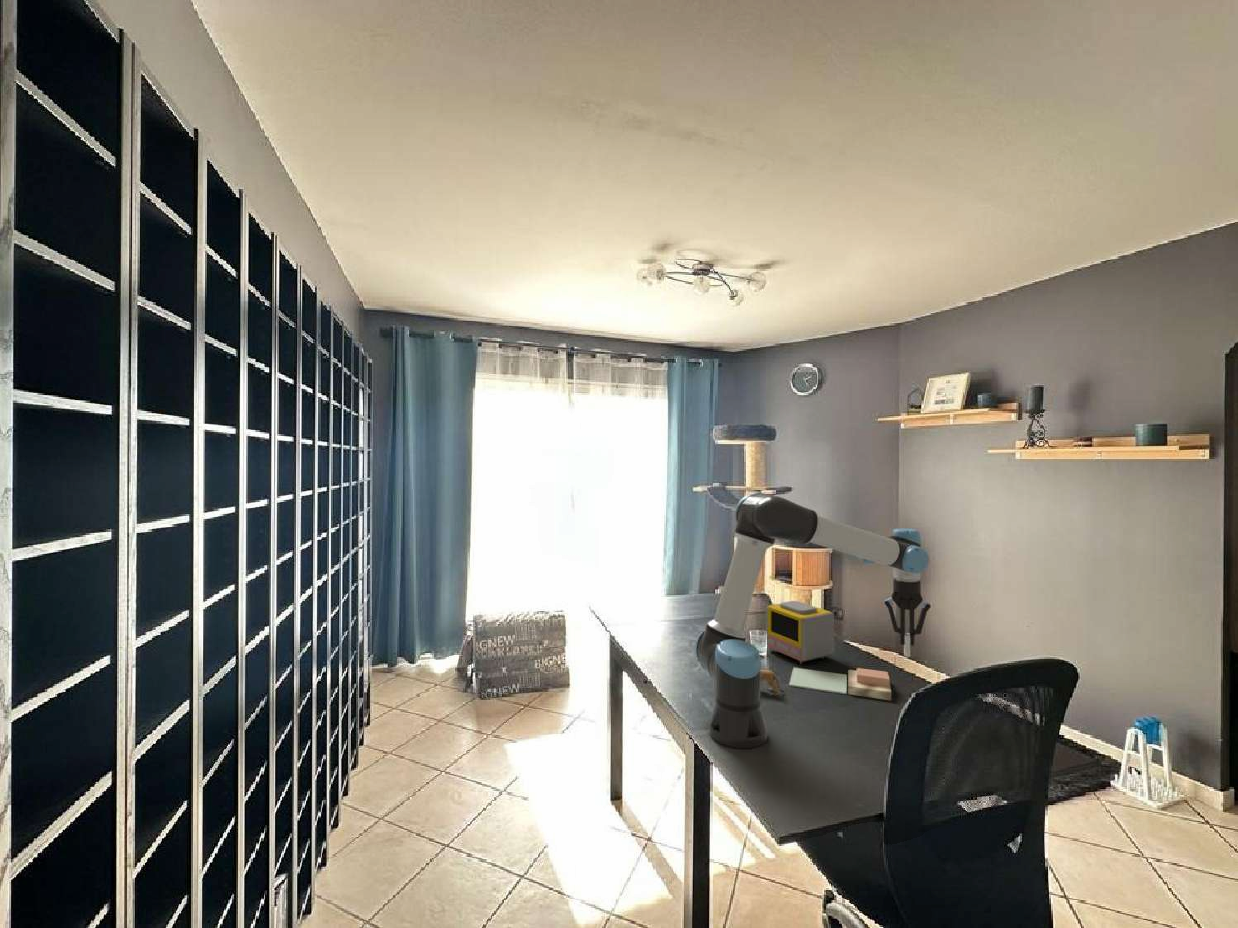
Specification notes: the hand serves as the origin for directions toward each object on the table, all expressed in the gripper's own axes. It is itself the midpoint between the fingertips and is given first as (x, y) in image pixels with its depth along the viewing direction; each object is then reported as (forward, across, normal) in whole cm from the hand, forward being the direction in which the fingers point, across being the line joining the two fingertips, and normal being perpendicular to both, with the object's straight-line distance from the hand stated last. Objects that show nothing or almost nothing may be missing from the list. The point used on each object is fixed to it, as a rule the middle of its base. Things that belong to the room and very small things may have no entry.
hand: (907, 655), depth 174 cm
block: (+9, -10, 0) cm, 14 cm away
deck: (+12, -11, 0) cm, 16 cm away
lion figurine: (+12, -43, -14) cm, 47 cm away
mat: (+12, -26, 0) cm, 28 cm away
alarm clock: (+12, -34, +22) cm, 42 cm away
